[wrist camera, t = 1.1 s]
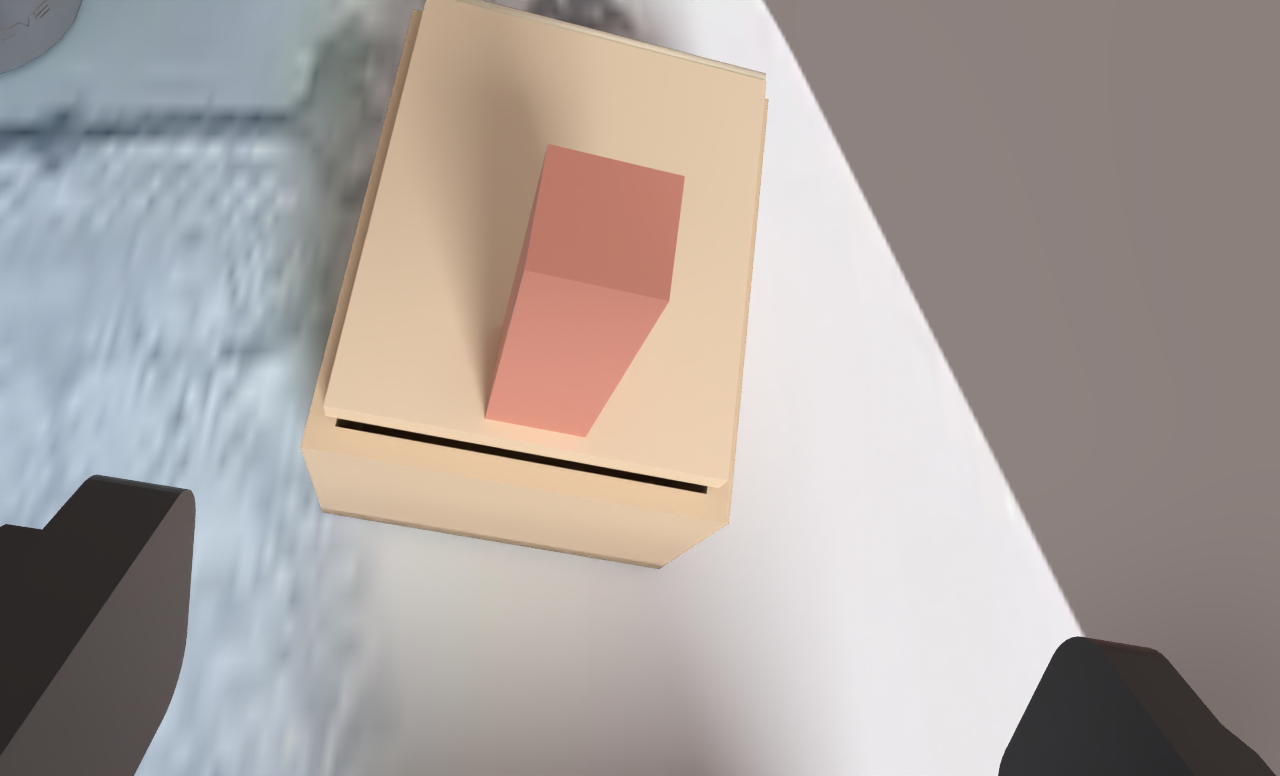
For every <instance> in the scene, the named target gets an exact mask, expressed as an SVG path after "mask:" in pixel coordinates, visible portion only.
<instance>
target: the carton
mask: <svg viewBox="0 0 1280 776" xmlns="http://www.w3.org/2000/svg"><path fill="white" fill-rule="evenodd" d="M422 14H423V12H422V11H418V10H414V9H413V12H412V16H411V20H410V24H409V28H408V32H407V35H406V39H405V43H404V47H403V51H402V55H401V59H400V63H399V66H398V70H397V74H396V78H395V82H394V86H393V90H392V94H391V97H390V101H389V105H388V109H387V113H386V117H385V121H384V125H383V128H382V132H381V136H380V140H379V144H378V148H377V152H376V156H375V159H374V163H373V167H372V171H371V175H370V179H369V183H368V187H367V191H366V194H365V198H364V202H363V206H362V210H361V214H360V218H359V222H358V225H357V229H356V233H355V237H354V241H353V245H352V249H351V253H350V256H349V260H348V264H347V268H346V272H345V276H344V280H343V284H342V287H341V291H340V295H339V299H338V303H337V307H336V311H335V315H334V318H333V322H332V326H331V330H330V334H329V338H328V342H327V346H326V349H325V353H324V357H323V361H322V365H321V369H320V373H319V377H318V380H317V384H316V388H315V392H314V396H313V400H312V404H311V408H310V411H309V415H308V419H307V423H306V427H305V431H304V435H303V439H302V442H301V446H300V448H301V451H302V454H303V457H304V460H305V463H306V466H307V468H308V471H309V474H310V477H311V480H312V483H313V486H314V489H315V492H316V495H317V498H318V501H319V504H320V507H321V509H322V512H323V513H329V514H335V515H341V516H347V517H353V518H359V519H365V520H371V521H377V522H383V523H389V524H395V525H401V526H407V527H413V528H418V529H424V530H430V531H436V532H442V533H448V534H454V535H460V536H466V537H472V538H478V539H484V540H490V541H496V542H502V543H508V544H514V545H520V546H526V547H532V548H538V549H544V550H549V551H555V552H561V553H567V554H573V555H579V556H585V557H591V558H597V559H603V560H609V561H615V562H621V563H627V564H633V565H639V566H645V567H651V568H657V569H660V568H662V567H663V566H665V565H666V564H668V563H669V562H671V561H672V560H674V559H675V558H677V557H678V556H680V555H681V554H683V553H684V552H686V551H688V550H689V549H691V548H692V547H694V546H695V545H697V544H698V543H700V542H701V541H703V540H704V539H706V538H707V537H709V536H710V535H712V534H714V533H715V532H717V531H718V530H720V529H721V528H723V527H724V526H726V525H727V524H729V516H730V506H731V495H732V484H733V473H734V463H735V452H736V441H737V431H738V420H739V409H740V399H741V388H742V377H743V367H744V356H745V345H746V334H747V324H748V313H749V302H750V292H751V281H752V270H753V260H754V249H755V238H756V228H757V217H758V206H759V195H760V185H761V174H762V163H763V153H764V142H765V131H766V121H767V110H768V99H765V101H764V111H763V122H762V132H761V143H760V153H759V164H758V174H757V185H756V195H755V206H754V216H753V227H752V237H751V248H750V258H749V269H748V279H747V290H746V300H745V311H744V321H743V332H742V342H741V353H740V363H739V374H738V384H737V395H736V405H735V416H734V426H733V437H732V447H731V458H730V468H729V479H728V481H727V482H726V483H725V484H723V485H722V486H721V487H719V488H715V487H709V486H704V485H698V484H693V483H688V482H682V481H677V480H671V479H666V478H660V477H655V476H650V475H644V474H639V473H633V472H628V471H622V470H617V469H611V468H606V467H601V466H595V465H590V464H584V463H579V462H573V461H568V460H562V459H557V458H552V457H546V456H541V455H535V454H530V453H524V452H519V451H513V450H508V449H503V448H497V447H492V446H486V445H481V444H475V443H470V442H465V441H459V440H454V439H448V438H443V437H437V436H432V435H426V434H421V433H416V432H410V431H405V430H399V429H394V428H388V427H383V426H377V425H372V424H367V423H361V422H356V421H350V420H345V419H339V418H334V417H329V416H326V415H325V410H324V406H323V405H324V401H325V397H326V393H327V389H328V385H329V381H330V377H331V373H332V369H333V365H334V361H335V357H336V354H337V350H338V346H339V342H340V338H341V334H342V330H343V326H344V322H345V318H346V314H347V310H348V306H349V302H350V298H351V294H352V290H353V286H354V282H355V279H356V275H357V271H358V267H359V263H360V259H361V255H362V251H363V247H364V243H365V239H366V235H367V231H368V227H369V223H370V219H371V215H372V211H373V207H374V204H375V200H376V196H377V192H378V188H379V184H380V180H381V176H382V172H383V168H384V164H385V160H386V156H387V152H388V148H389V144H390V140H391V136H392V132H393V129H394V125H395V121H396V117H397V113H398V109H399V105H400V101H401V97H402V93H403V89H404V85H405V81H406V77H407V73H408V69H409V65H410V61H411V57H412V54H413V50H414V46H415V42H416V38H417V34H418V30H419V26H420V22H421V18H422Z"/></svg>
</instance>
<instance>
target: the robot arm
mask: <svg viewBox="0 0 1280 776" xmlns="http://www.w3.org/2000/svg"><path fill="white" fill-rule="evenodd" d="M80 4H81V0H0V74H1V73H4V72H7V71H10V70H13V69H16V68H18V67H21V66H23V65H25V64H27V63H28V62H30V61H32V60H34V59H35V58H37V57H39V56H41V55H43V54H44V53H45V52H46V51H47V50H49V49H50V48H51V47H52V46H53V45H54V44H56V43H57V42H58V41H59V40H60V39H61V38H62V37H63V35H64V34H65V33H66V31H67V30H68V29H69V27H70V26H71V24H72V23H73V22H74V19H75V17H76V14H77V12H78V9H79V7H80ZM195 511H196V509H195V498H194V495H193V493H192V491H191V490H188V489H182V488H176V487H170V486H164V485H158V484H151V483H145V482H139V481H133V480H127V479H121V478H114V477H108V476H102V475H93V476H91V477H90V478H88V479H87V480H86V481H85V482H84V483H83V484H82V485H81V486H80V487H79V489H78V490H77V491H76V492H75V493H74V494H73V495H72V496H71V498H70V499H69V500H68V501H67V502H66V503H65V504H64V506H63V507H62V508H61V509H60V510H59V511H58V512H57V514H56V515H55V516H54V517H53V518H52V519H51V520H50V522H49V523H48V524H47V525H46V526H45V527H44V528H43V530H41V529H35V528H28V527H21V526H15V525H8V524H5V525H3V526H1V527H0V776H134V774H135V772H136V770H137V769H138V767H139V765H140V763H141V761H142V759H143V757H144V755H145V753H146V751H147V749H148V747H149V745H150V743H151V741H152V739H153V737H154V735H155V733H156V731H157V729H158V727H159V726H160V724H161V722H162V720H163V718H164V716H165V713H166V711H167V709H168V707H169V704H170V702H171V699H172V696H173V694H174V691H175V688H176V684H177V681H178V678H179V674H180V670H181V666H182V662H183V657H184V652H185V646H186V638H187V626H188V612H189V598H190V584H191V570H192V556H193V543H194V529H195ZM998 776H1276V775H1275V774H1274V773H1273V772H1272V771H1271V769H1270V768H1269V767H1268V766H1267V765H1266V763H1265V762H1264V761H1263V760H1262V759H1261V757H1260V756H1259V755H1258V754H1257V753H1256V752H1255V751H1253V750H1252V749H1251V748H1250V747H1249V746H1247V745H1246V744H1245V743H1244V742H1242V741H1241V740H1240V739H1239V738H1237V737H1236V736H1235V735H1234V734H1232V733H1231V732H1230V731H1229V730H1228V729H1226V728H1225V727H1224V726H1223V725H1222V724H1221V723H1220V722H1219V721H1218V720H1217V718H1216V717H1215V716H1214V715H1213V714H1212V712H1211V711H1210V710H1209V709H1208V708H1207V707H1206V705H1205V704H1204V703H1203V702H1202V700H1201V699H1200V698H1199V697H1198V696H1197V695H1196V693H1195V692H1194V691H1193V690H1192V689H1191V687H1190V686H1189V685H1188V684H1187V682H1186V681H1185V680H1184V679H1183V678H1182V677H1181V675H1180V674H1179V673H1178V672H1177V671H1176V669H1175V668H1174V667H1173V666H1172V665H1171V663H1170V662H1169V661H1168V660H1167V659H1166V658H1165V657H1164V656H1163V655H1162V654H1161V653H1159V652H1158V651H1156V650H1154V649H1151V648H1147V647H1140V646H1134V645H1129V644H1123V643H1116V642H1110V641H1104V640H1098V639H1092V638H1086V637H1072V638H1070V639H1068V640H1066V641H1065V642H1063V643H1062V644H1061V645H1060V646H1059V647H1058V649H1057V650H1056V651H1055V653H1054V655H1053V656H1052V658H1051V660H1050V662H1049V664H1048V666H1047V668H1046V670H1045V672H1044V674H1043V676H1042V678H1041V680H1040V682H1039V684H1038V686H1037V688H1036V690H1035V692H1034V694H1033V696H1032V698H1031V700H1030V702H1029V704H1028V706H1027V708H1026V710H1025V712H1024V714H1023V716H1022V718H1021V720H1020V722H1019V724H1018V726H1017V728H1016V730H1015V732H1014V734H1013V736H1012V738H1011V740H1010V742H1009V744H1008V746H1007V748H1006V750H1005V753H1004V755H1003V757H1002V760H1001V764H1000V768H999V774H998Z"/></svg>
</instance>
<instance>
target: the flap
mask: <svg viewBox="0 0 1280 776" xmlns="http://www.w3.org/2000/svg"><path fill="white" fill-rule="evenodd" d="M765 90H766V74H765V73H762V72H758V71H754V70H750V69H746V68H742V67H739V66H735V65H731V64H727V63H723V62H719V61H715V60H711V59H708V58H704V57H700V56H696V55H692V54H688V53H684V52H680V51H677V50H673V49H669V48H665V47H661V46H657V45H653V44H650V43H646V42H642V41H638V40H634V39H630V38H626V37H622V36H619V35H615V34H611V33H607V32H603V31H599V30H595V29H591V28H588V27H584V26H580V25H576V24H572V23H568V22H564V21H560V20H557V19H553V18H549V17H545V16H541V15H537V14H533V13H530V12H526V11H522V10H518V9H514V8H510V7H506V6H502V5H499V4H495V3H491V2H487V1H483V0H426V2H425V6H424V10H423V14H422V18H421V22H420V26H419V30H418V34H417V38H416V42H415V46H414V50H413V54H412V57H411V61H410V65H409V69H408V73H407V77H406V81H405V85H404V89H403V93H402V97H401V101H400V105H399V109H398V113H397V117H396V121H395V125H394V129H393V132H392V136H391V140H390V144H389V148H388V152H387V156H386V160H385V164H384V168H383V172H382V176H381V180H380V184H379V188H378V192H377V196H376V200H375V204H374V207H373V211H372V215H371V219H370V223H369V227H368V231H367V235H366V239H365V243H364V247H363V251H362V255H361V259H360V263H359V267H358V271H357V275H356V279H355V282H354V286H353V290H352V294H351V298H350V302H349V306H348V310H347V314H346V318H345V322H344V326H343V330H342V334H341V338H340V342H339V346H338V350H337V354H336V357H335V361H334V365H333V369H332V373H331V377H330V381H329V385H328V389H327V393H326V397H325V401H324V405H323V406H324V410H325V415H326V416H329V417H334V418H339V419H345V420H350V421H356V422H361V423H367V424H372V425H377V426H383V427H388V428H394V429H399V430H405V431H410V432H416V433H421V434H426V435H432V436H437V437H443V438H448V439H454V440H459V441H465V442H470V443H475V444H481V445H486V446H492V447H497V448H503V449H508V450H513V451H519V452H524V453H530V454H535V455H541V456H546V457H552V458H557V459H562V460H568V461H573V462H579V463H584V464H590V465H595V466H601V467H606V468H611V469H617V470H622V471H628V472H633V473H639V474H644V475H650V476H655V477H660V478H666V479H671V480H677V481H682V482H688V483H693V484H698V485H704V486H709V487H715V488H719V487H721V486H722V485H723V484H725V483H726V482H727V481H728V479H729V468H730V458H731V447H732V437H733V426H734V416H735V405H736V395H737V384H738V374H739V363H740V353H741V342H742V332H743V321H744V311H745V300H746V290H747V279H748V269H749V258H750V248H751V237H752V227H753V216H754V206H755V195H756V185H757V174H758V164H759V153H760V143H761V132H762V122H763V111H764V101H765Z"/></svg>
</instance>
